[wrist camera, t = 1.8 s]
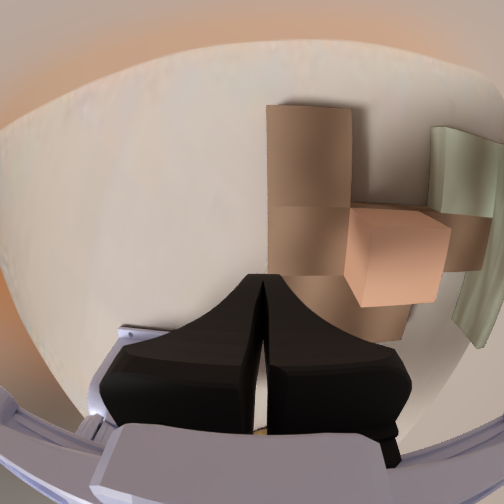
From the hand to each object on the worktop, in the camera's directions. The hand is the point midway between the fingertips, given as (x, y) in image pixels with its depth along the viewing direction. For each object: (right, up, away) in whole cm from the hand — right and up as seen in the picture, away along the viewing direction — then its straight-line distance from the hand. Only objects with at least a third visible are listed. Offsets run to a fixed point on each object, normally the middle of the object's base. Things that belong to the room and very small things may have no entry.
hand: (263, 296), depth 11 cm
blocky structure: (+10, +3, +8) cm, 13 cm away
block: (+8, +2, +6) cm, 10 cm away
